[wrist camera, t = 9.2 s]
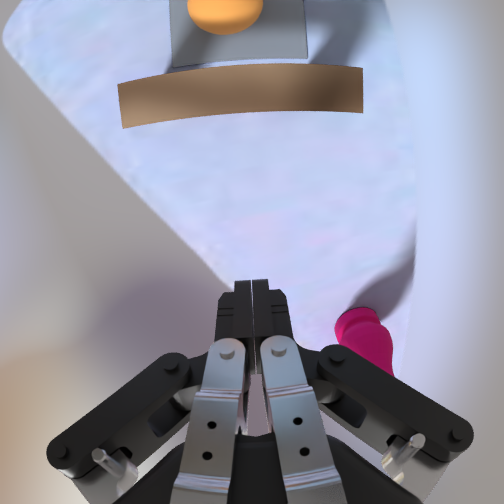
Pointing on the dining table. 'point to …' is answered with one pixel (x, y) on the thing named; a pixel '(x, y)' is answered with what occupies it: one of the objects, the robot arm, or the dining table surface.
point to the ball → (224, 14)
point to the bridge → (241, 91)
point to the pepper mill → (366, 337)
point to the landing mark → (240, 36)
